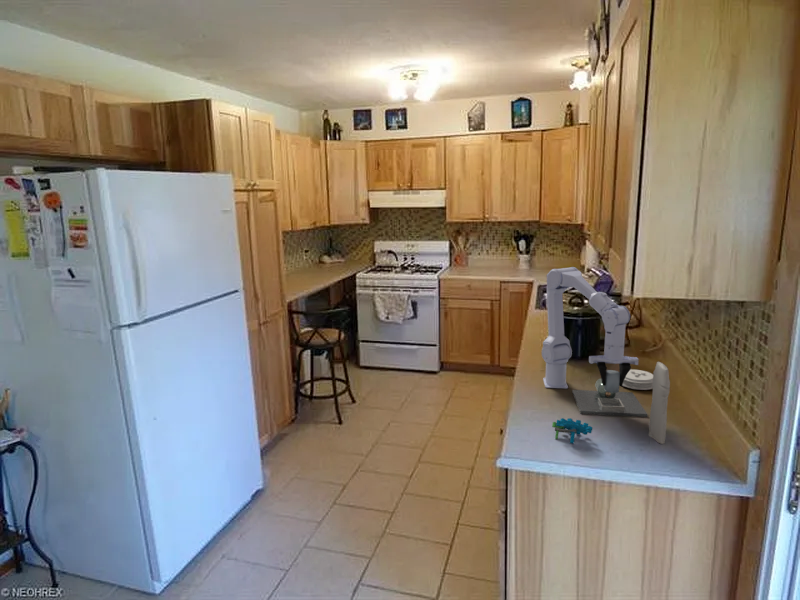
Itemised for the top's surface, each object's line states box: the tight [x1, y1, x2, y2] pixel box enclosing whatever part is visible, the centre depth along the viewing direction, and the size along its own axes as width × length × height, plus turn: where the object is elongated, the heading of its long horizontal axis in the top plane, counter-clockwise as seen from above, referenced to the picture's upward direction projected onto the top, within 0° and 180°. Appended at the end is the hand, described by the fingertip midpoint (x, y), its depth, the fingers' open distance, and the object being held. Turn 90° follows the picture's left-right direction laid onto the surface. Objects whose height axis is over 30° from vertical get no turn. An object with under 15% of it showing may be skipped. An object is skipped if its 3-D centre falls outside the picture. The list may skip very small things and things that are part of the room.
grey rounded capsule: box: [604, 369, 620, 393], centre depth 161 cm, size 4×4×6 cm
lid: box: [621, 369, 653, 391], centre depth 183 cm, size 13×13×5 cm
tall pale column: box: [648, 361, 671, 445], centre depth 142 cm, size 11×4×22 cm, turn 170°
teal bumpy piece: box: [551, 417, 593, 445], centre depth 143 cm, size 11×6×10 cm
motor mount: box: [572, 377, 648, 418], centre depth 167 cm, size 18×20×6 cm
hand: (611, 384), depth 161 cm, fingers closed on grey rounded capsule, 4 cm apart
